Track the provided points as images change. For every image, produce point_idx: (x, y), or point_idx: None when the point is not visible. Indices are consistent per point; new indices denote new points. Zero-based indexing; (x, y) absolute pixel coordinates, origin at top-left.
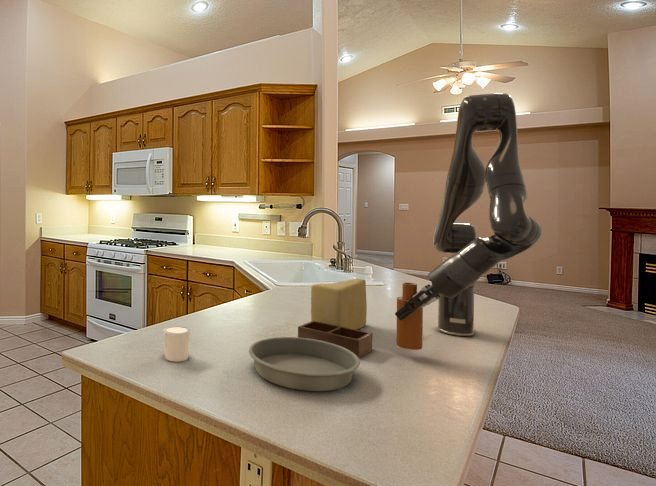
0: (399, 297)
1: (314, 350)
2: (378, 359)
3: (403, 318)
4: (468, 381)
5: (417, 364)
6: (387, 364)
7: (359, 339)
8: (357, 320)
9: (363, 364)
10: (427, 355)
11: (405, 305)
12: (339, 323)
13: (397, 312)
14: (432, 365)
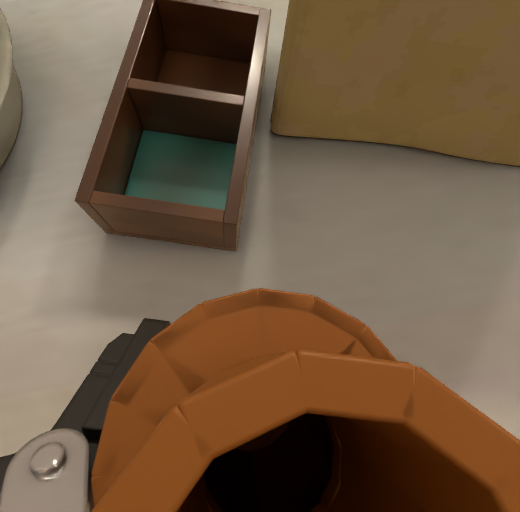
0: (300, 311)
1: (9, 99)
2: (138, 292)
3: None
4: None
5: None
6: (95, 333)
7: (91, 199)
8: (469, 133)
9: (47, 260)
10: None
11: (83, 428)
12: (281, 87)
13: (137, 337)
14: None
